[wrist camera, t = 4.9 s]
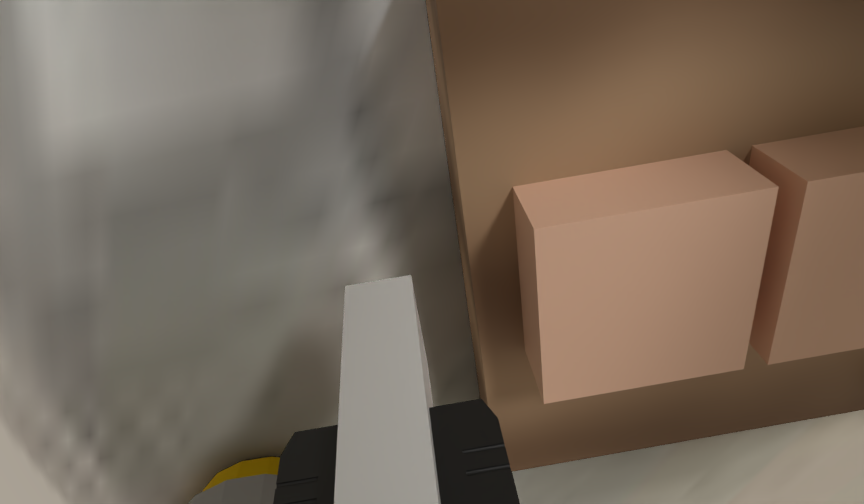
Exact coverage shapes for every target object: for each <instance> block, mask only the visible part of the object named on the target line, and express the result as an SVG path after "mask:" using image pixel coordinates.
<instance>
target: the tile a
mask: <svg viewBox="0 0 864 504" xmlns="http://www.w3.org/2000/svg"><path fill="white" fill-rule="evenodd" d="M778 188H779V187H778V186H777V185H776V184H774V183H773V182H771V181H770V180H769V179H767V178H766V177H764V176H763V175H761V174H760V173H759V172H757V171H756V170H754V169H753V168H752V167H750V166H749V165H747V164H746V163H745V162H743V161H742V160H740V159H739V158H737V157H736V156H735V155H733V154H732V153H730V152H729V151H728V150H723V151H717V152H711V153H706V154H700V155H694V156H688V157H682V158H677V159H671V160H665V161H659V162H653V163H647V164H642V165H636V166H630V167H624V168H618V169H613V170H607V171H601V172H595V173H589V174H584V175H578V176H572V177H566V178H560V179H555V180H549V181H543V182H537V183H531V184H526V185H520V186H514V187H513V199H514V212H515V225H516V239H517V252H518V265H519V278H520V291H521V304H522V318H523V331H524V344H525V352H526V355H527V357H528V360H529V363H530V366H531V369H532V372H533V375H534V377H535V380H536V383H537V386H538V389H539V392H540V395H541V397H542V400H543V403H544V404H548V403H553V402H559V401H565V400H570V399H576V398H582V397H587V396H593V395H599V394H605V393H610V392H616V391H622V390H627V389H633V388H639V387H644V386H650V385H656V384H662V383H667V382H673V381H679V380H684V379H690V378H696V377H701V376H707V375H713V374H719V373H724V372H730V371H736V370H741V369H744V366H745V361H746V355H747V350H748V345H749V340H750V335H751V329H752V324H753V319H754V314H755V308H756V303H757V298H758V293H759V288H760V282H761V277H762V272H763V267H764V261H765V256H766V251H767V246H768V241H769V235H770V230H771V225H772V220H773V214H774V209H775V204H776V199H777V193H778Z"/></svg>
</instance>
